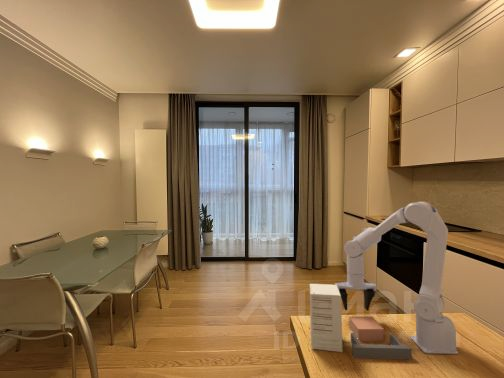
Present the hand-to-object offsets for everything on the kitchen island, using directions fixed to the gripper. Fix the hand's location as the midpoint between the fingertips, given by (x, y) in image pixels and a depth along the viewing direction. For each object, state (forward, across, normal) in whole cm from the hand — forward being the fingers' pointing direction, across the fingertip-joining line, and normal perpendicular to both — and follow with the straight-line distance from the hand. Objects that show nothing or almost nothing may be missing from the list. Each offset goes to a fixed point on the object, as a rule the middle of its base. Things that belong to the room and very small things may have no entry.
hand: (355, 309), depth 92 cm
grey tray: (+4, 0, +17) cm, 18 cm away
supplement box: (+4, +14, +14) cm, 20 cm away
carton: (+4, 0, +9) cm, 10 cm away
